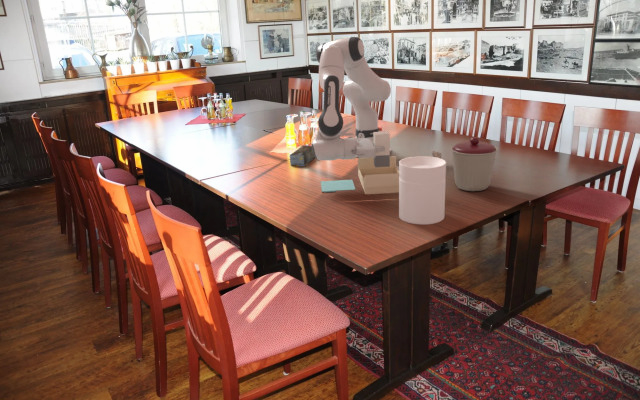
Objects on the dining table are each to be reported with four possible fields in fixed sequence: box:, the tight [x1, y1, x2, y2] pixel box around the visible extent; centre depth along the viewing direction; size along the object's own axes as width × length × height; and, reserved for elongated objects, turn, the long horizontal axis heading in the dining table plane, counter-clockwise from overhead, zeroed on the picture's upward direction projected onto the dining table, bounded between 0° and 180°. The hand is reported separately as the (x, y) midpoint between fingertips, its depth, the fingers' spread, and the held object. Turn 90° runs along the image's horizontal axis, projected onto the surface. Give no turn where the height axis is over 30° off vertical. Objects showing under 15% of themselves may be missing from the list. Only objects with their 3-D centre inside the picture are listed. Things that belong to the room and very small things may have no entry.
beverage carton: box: [289, 145, 316, 167], centre depth 265 cm, size 8×19×7 cm, turn 161°
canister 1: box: [398, 155, 447, 225], centre depth 183 cm, size 16×16×20 cm
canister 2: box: [450, 136, 499, 192], centre depth 210 cm, size 18×18×21 cm
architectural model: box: [431, 150, 442, 159], centre depth 244 cm, size 3×7×7 cm, turn 31°
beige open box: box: [357, 155, 399, 195], centre depth 222 cm, size 17×27×8 cm, turn 2°
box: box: [373, 130, 391, 167], centre depth 219 cm, size 6×5×14 cm
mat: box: [320, 179, 356, 193], centre depth 223 cm, size 14×14×1 cm
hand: (383, 146), depth 218 cm, fingers closed on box, 5 cm apart
